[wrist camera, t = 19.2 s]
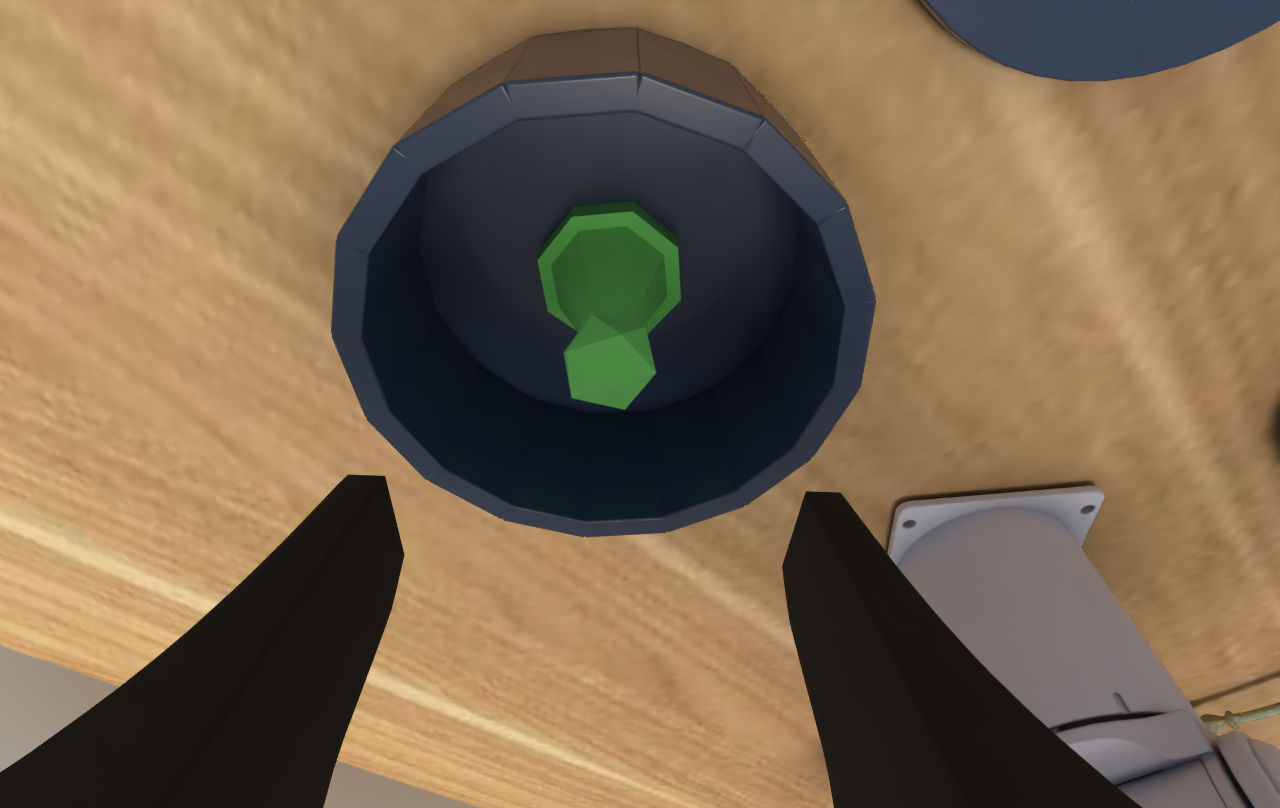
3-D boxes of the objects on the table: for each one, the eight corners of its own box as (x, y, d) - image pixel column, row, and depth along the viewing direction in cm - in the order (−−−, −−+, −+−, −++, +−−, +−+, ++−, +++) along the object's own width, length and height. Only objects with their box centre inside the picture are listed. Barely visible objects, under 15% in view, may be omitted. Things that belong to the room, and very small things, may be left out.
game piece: (641, 170, 18) (647, 269, 13) (707, 295, 20) (731, 418, 15) (509, 240, 19) (469, 356, 14) (585, 350, 21) (573, 481, 16)
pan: (863, 339, 21) (921, 448, 17) (542, 464, 25) (524, 581, 20) (725, -80, 15) (765, -71, 10) (305, 169, 18) (203, 255, 14)
